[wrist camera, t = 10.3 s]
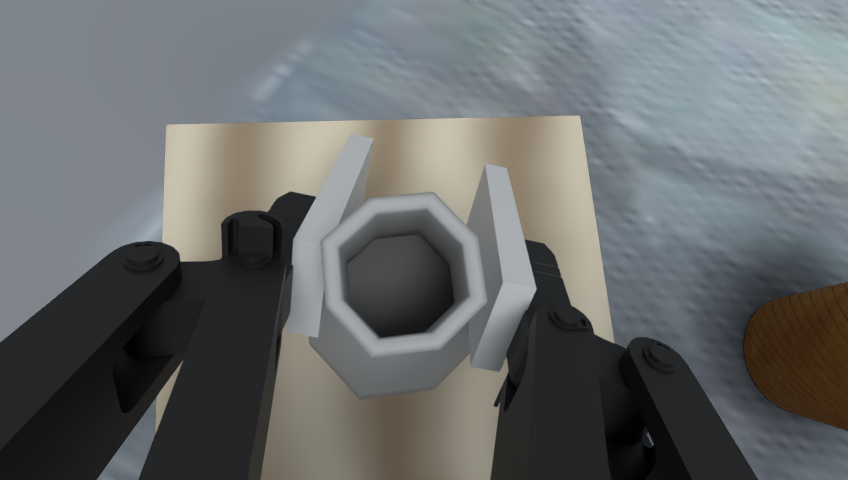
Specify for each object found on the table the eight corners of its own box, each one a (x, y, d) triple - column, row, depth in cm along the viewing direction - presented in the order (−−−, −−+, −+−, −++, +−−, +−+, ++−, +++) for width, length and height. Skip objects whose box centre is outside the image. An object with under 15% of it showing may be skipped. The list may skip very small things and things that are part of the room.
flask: (275, 260, 18) (149, 177, 9) (436, 190, 20) (486, 47, 10) (347, 432, 17) (297, 559, 8) (514, 347, 18) (657, 363, 9)
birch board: (557, 139, 26) (579, 115, 23) (604, 476, 23) (638, 497, 20) (191, 150, 24) (166, 124, 21) (182, 528, 21) (150, 560, 18)
